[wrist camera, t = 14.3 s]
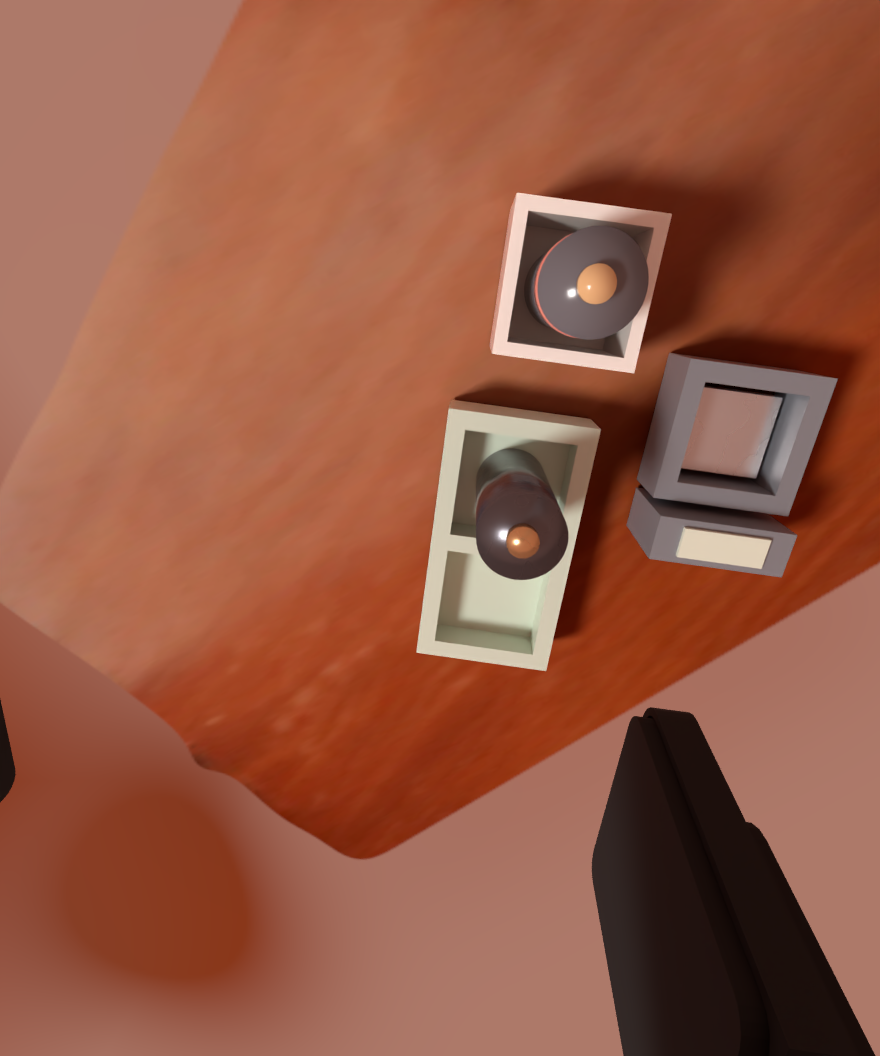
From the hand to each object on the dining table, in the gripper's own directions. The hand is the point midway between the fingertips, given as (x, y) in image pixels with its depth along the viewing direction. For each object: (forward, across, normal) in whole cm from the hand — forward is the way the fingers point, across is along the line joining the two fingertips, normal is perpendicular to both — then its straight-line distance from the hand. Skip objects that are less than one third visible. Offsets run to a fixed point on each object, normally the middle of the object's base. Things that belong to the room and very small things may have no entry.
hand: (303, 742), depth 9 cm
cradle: (+28, -15, +1) cm, 32 cm away
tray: (+27, -4, +7) cm, 29 cm away
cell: (+26, -4, +4) cm, 27 cm away
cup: (+28, -6, -7) cm, 29 cm away
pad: (+28, -16, 0) cm, 32 cm away
